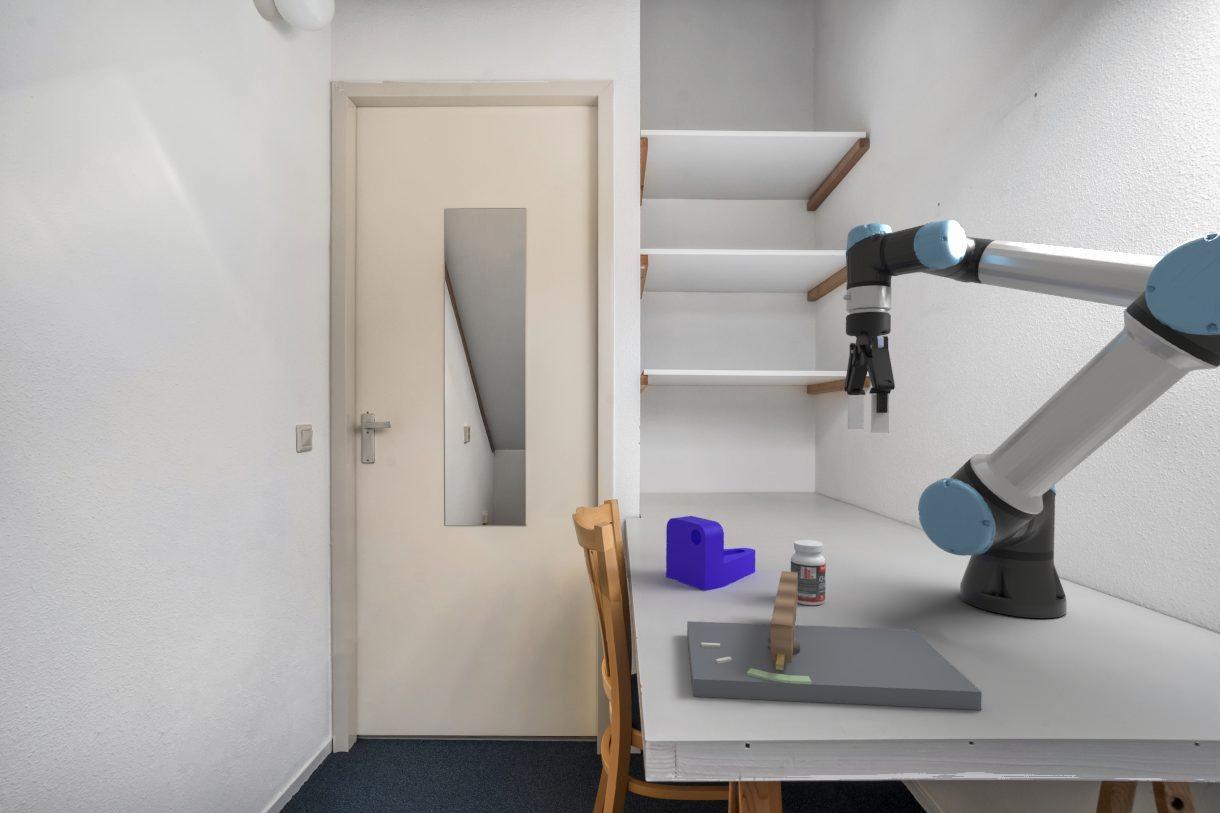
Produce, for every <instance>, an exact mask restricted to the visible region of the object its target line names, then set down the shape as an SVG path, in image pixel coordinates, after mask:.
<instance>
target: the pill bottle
mask: <svg viewBox="0 0 1220 813" xmlns="http://www.w3.org/2000/svg"><path fill="white" fill-rule="evenodd" d="M823 546H824V545H823V543H822V542H821V541H819V540H814V539H813V540H812V539H811V540H810V539H799V540H798V539H797V540H795V541H794V542H793V549H794V551H795V553H794V554H792V555H791V557H790V572H798V600H797V604H800V605H803V606H804V605H805V606H819V605H820V606H821V605H823V604H825V602H826V568H827V567H826V566H827V564H826V563H827V562H826V559H825V557H824V556H823V555H822V552H823V551H824V548H823Z"/></svg>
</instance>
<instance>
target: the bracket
mask: <svg viewBox="0 0 1220 813" xmlns="http://www.w3.org/2000/svg"><path fill="white" fill-rule="evenodd" d="M665 529H666V533H665V534H666V535H665V536H666V542H665V543H666V546H665V547H666V548H665V551H666V552H665V554H666V555H665V559H666V561H665V564H666V565H665V577H666V578H668V579H671V580H673V581H677V582H678V583H682V584H683V585H688V586H690V587H693V588H695V589H698V590H702V591H703V592H708V591H713V590H716V589H721V588H725V587H726V586H729V585H731V584H733V583H736V582H737V581H739V580H741V579H744V578H746V577H748V576H751V575H752V574H754V573H756V549H754V548H751V547H737V548H736V547H735V548H725V533H724V528H723V526H722V524H720V522H718V521H715V520H711V519H707V518H703V517H698V516H694V515H688V516H686V515H685V516H679V517H672V518H671V517H670V518H669V519H668V521H667V523H666V528H665Z"/></svg>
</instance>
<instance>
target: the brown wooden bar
mask: <svg viewBox="0 0 1220 813" xmlns="http://www.w3.org/2000/svg"><path fill="white" fill-rule="evenodd" d="M797 600H798V572H791V571H786V570H781V572H780V578H779V582H778V588H777V592H776V597H775V601H774V605H773V611H772V615H771V616H772V617H771V620H770V624H771V636H770V637H768V649H769V650H771V657H770V660H771V661H776V669H779V670H783V668H784V662H786V663H792V654H796V653H798V652H800V641H799V640H798V639H797V638H795V637H794V632H795V625H796V619H797V609H798V603H797Z"/></svg>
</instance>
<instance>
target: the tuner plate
mask: <svg viewBox="0 0 1220 813" xmlns="http://www.w3.org/2000/svg"><path fill="white" fill-rule="evenodd" d="M686 623H687V625H686V626H687V632H686V634H687V636H686V637H687V638H686V639H687V646H688V656H689V665H690V677H691V688H692V697H696V698H697V697H699V698H716V699H717V698H719V699H721V698H722V699H738V700H741V699H742V700H759V701H760V700H762V701H764V700H765V701H767V700H768V701H784V702H785V701H786V702H805V703H825V704H826V703H828V704H846V705H847V704H849V705H850V704H851V705H868V706H870V705H871V706H892V707H893V706H894V707H908V708H910V707H912V708H931V709H932V708H933V709H934V708H935V709H950V710H951V709H956V710H957V709H958V710H972V711H973V710H976V711H977V710H978V711H981V710H982V697H983V696H982V691H981V689H979V688H978V687H977V686H976V685H975V684H974V683H973V682H972V681H970V680H969V679H968V678H967V677H966V676H965V675H964V674H962V672H961V671H959V670H958V669H957V668H956V667H955V666H954V665H953V664H952V663H951V662H950V661H949V660H947V659H946V658H945V656H943V655H942V654H941V653H940V652H939V651H938V650H936V648H934V647H933V646H932V645H931V644H930V643H929V642H928V641H927V640H925V639H924V638H923V636H921V635H920V634H919V633H918V632H917V631H915V629H908V628H903V629H902V628H882V627H881V628H878V627H877V628H876V627H854V626H853V627H852V626H851V627H850V626H826V625H825V626H824V625H823V626H822V625H797V624H795V632H794V637H795V638H797V639H798V640H799V641H800V652H798V653H796V654H792V663H786V662H784V668H783V670H779V669H776V661H771V660H770V657H771V650H769V649H768V637H770V636H771V623H769V624H767V623H764V624H763V623H745V622H742V623H741V622H740V623H739V622H721V621H720V622H719V621H716V622H715V621H714V622H713V621H687V622H686Z"/></svg>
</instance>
